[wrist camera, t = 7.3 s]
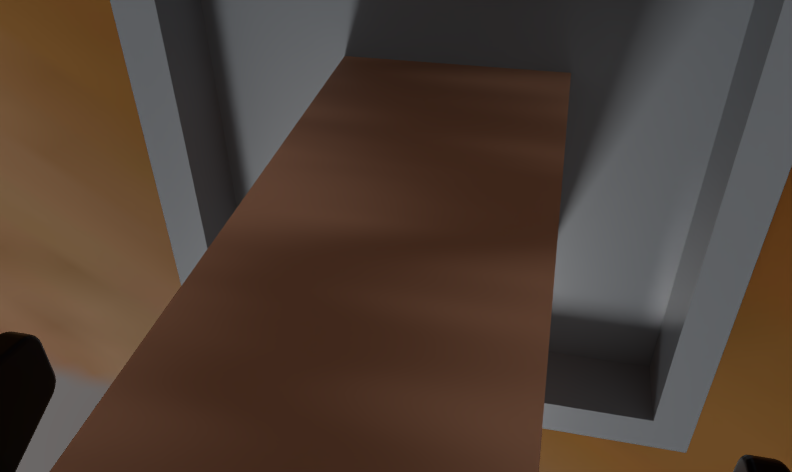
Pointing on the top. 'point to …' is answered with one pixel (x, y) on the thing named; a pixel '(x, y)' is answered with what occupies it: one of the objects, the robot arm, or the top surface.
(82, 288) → the top surface
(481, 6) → the grey rectangular bin
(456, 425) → the terracotta peg
